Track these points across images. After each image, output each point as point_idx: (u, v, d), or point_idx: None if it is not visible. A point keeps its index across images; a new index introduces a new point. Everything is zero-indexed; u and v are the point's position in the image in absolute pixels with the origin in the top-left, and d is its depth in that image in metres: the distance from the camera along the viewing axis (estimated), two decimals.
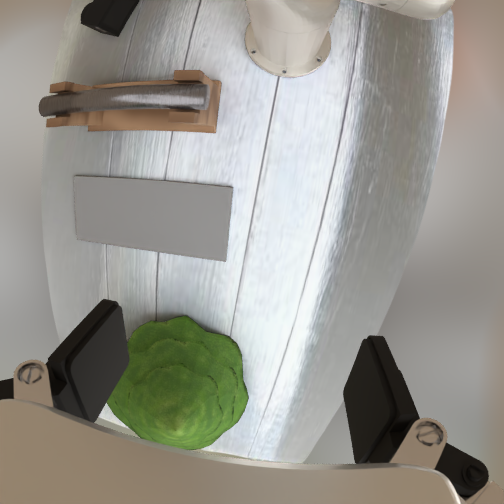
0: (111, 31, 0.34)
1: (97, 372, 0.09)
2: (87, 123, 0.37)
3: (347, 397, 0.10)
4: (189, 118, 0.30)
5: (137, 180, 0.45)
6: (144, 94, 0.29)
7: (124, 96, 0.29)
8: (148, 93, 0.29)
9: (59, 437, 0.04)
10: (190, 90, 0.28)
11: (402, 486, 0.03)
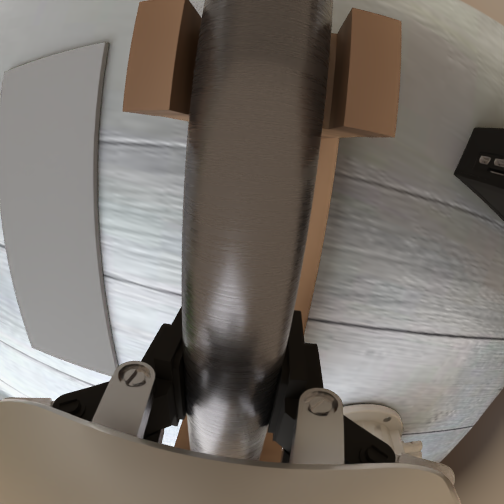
0: (476, 182, 0.15)
1: None
2: None
3: None
4: None
5: (92, 223, 0.20)
6: None
7: None
8: None
9: (59, 437, 0.04)
10: None
11: (402, 486, 0.03)
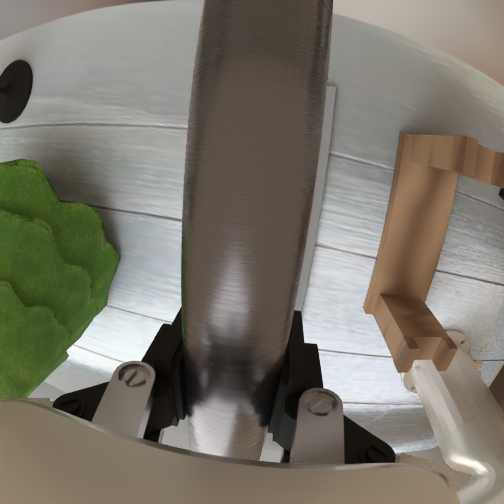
0: None
1: None
2: (428, 165, 0.24)
3: None
4: (404, 368, 0.25)
5: (319, 207, 0.32)
6: None
7: None
8: None
9: (59, 437, 0.04)
10: None
11: (402, 486, 0.03)
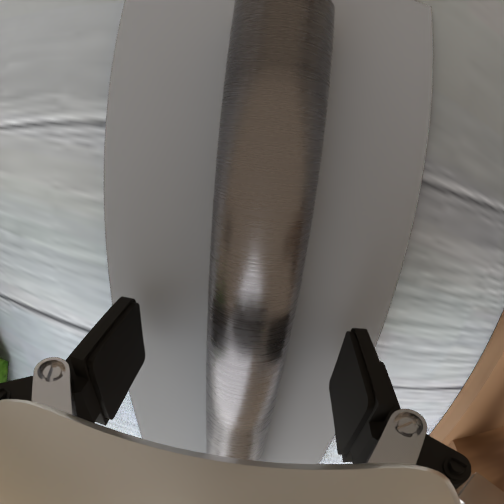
0: None
1: (116, 369, 0.09)
2: None
3: (332, 389, 0.11)
4: None
5: (380, 320, 0.12)
6: (240, 451, 0.11)
7: (242, 419, 0.11)
8: (242, 456, 0.12)
9: (59, 437, 0.04)
10: None
11: (402, 486, 0.03)
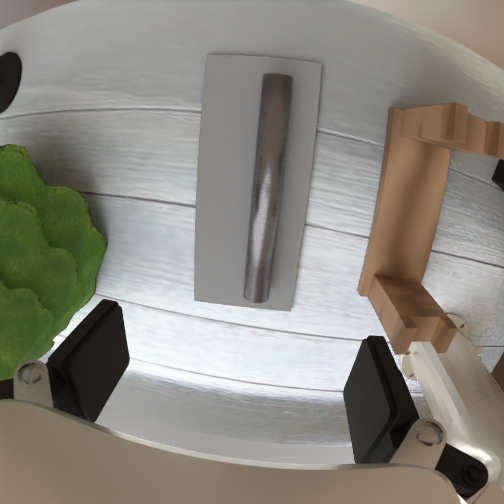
0: None
1: (97, 372, 0.09)
2: (419, 137, 0.23)
3: (347, 397, 0.10)
4: (401, 349, 0.24)
5: (307, 184, 0.31)
6: (274, 243, 0.32)
7: (276, 219, 0.30)
8: (274, 247, 0.32)
9: (59, 437, 0.04)
10: None
11: (402, 486, 0.03)
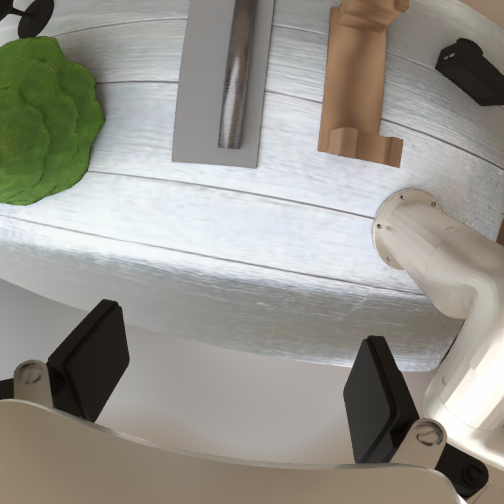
0: (444, 66, 0.30)
1: (97, 372, 0.09)
2: (345, 13, 0.27)
3: (347, 397, 0.10)
4: (347, 151, 0.27)
5: (266, 59, 0.35)
6: (245, 98, 0.35)
7: (247, 79, 0.34)
8: None
9: (59, 437, 0.04)
10: (241, 137, 0.38)
11: (402, 486, 0.03)
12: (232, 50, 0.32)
